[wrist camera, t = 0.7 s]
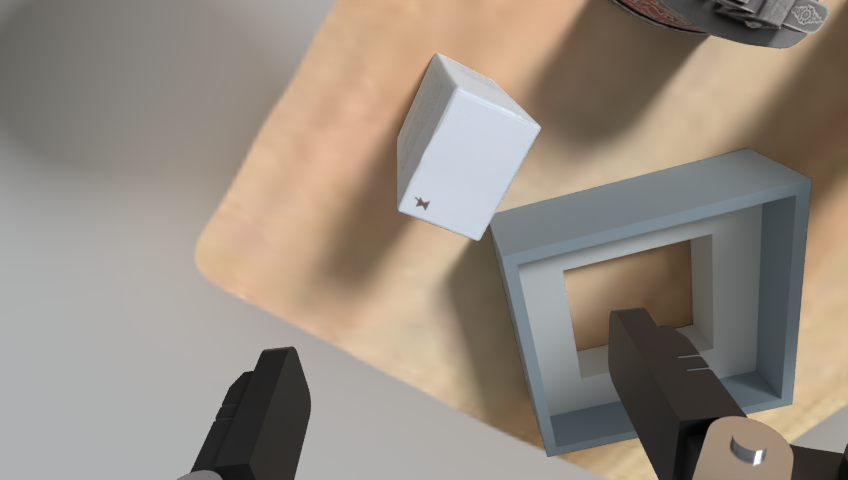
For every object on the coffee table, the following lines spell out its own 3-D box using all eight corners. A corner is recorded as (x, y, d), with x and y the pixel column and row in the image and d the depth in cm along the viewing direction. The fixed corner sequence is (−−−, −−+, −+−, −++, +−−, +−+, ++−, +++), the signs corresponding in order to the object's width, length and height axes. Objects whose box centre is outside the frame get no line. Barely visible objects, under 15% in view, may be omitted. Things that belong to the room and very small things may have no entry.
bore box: (747, 147, 34) (811, 178, 29) (743, 351, 42) (792, 404, 37) (486, 215, 36) (501, 256, 31) (529, 399, 44) (547, 457, 39)
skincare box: (454, 163, 34) (478, 247, 23) (395, 138, 33) (392, 213, 22) (497, 78, 32) (546, 128, 21) (435, 47, 31) (452, 84, 20)
